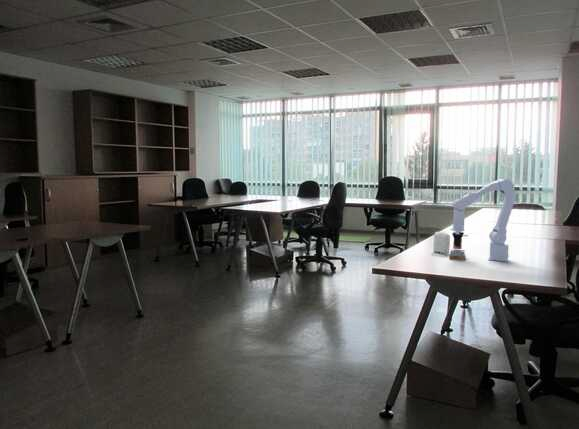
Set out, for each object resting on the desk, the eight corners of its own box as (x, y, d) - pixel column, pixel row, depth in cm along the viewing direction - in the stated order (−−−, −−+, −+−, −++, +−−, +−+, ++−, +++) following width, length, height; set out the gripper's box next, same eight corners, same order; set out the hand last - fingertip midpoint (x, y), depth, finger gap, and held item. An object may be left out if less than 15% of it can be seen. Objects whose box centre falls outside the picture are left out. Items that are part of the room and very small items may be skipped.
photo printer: (450, 253, 280) (451, 232, 278) (445, 254, 278) (445, 233, 276) (437, 250, 289) (438, 230, 287) (432, 251, 287) (432, 230, 285)
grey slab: (464, 254, 266) (464, 249, 266) (463, 256, 260) (464, 251, 259) (451, 253, 269) (451, 249, 268) (450, 255, 262) (450, 250, 262)
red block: (461, 248, 265) (461, 239, 265) (461, 249, 261) (461, 240, 261) (453, 247, 267) (454, 238, 266) (453, 248, 263) (453, 239, 262)
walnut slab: (465, 258, 267) (465, 254, 266) (464, 261, 259) (465, 256, 259) (450, 257, 270) (450, 253, 270) (449, 260, 262) (449, 255, 262)
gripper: (452, 219, 271) (451, 243, 272) (449, 222, 257) (448, 247, 259) (465, 220, 268) (464, 244, 269) (463, 222, 255) (462, 248, 256)
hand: (457, 245), depth 264 cm, fingers closed on red block, 4 cm apart
